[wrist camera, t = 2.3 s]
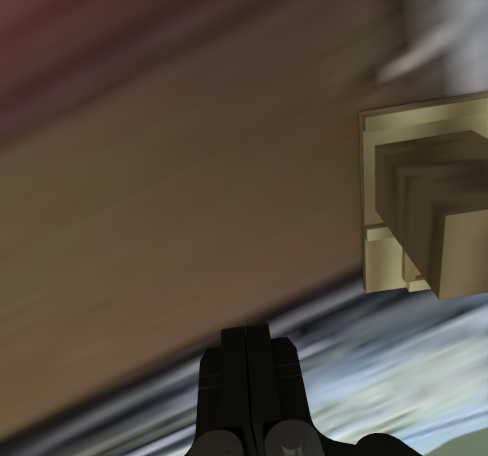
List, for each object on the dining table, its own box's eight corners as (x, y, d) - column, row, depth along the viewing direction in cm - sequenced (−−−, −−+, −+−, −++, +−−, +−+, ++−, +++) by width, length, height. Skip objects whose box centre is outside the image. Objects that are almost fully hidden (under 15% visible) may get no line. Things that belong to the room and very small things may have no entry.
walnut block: (375, 209, 39) (439, 299, 27) (374, 145, 36) (445, 215, 24) (464, 195, 39) (567, 280, 27) (471, 129, 36) (589, 193, 24)
